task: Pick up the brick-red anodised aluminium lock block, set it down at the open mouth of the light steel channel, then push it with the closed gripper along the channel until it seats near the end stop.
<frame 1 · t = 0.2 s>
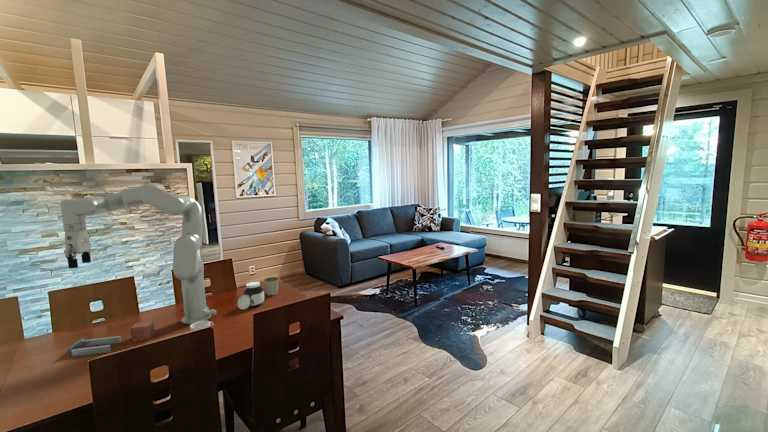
hand: (80, 265, 159), 31 cm above the table, fingers open, 9 cm apart
hitch channel: (96, 349, 145), on the table
spread jar: (251, 306, 188), on the table
lock block: (143, 337, 155), on the table
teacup: (203, 335, 155), on the table
flower pot: (272, 294, 206), on the table
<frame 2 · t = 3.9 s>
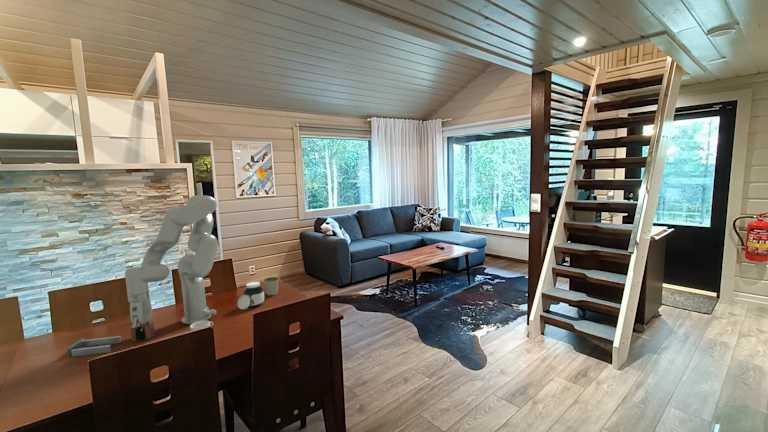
hand: (143, 336, 154), 1 cm above the table, fingers closed on lock block, 5 cm apart
lock block: (143, 337, 154), on the table, touching gripper
everything else where it was.
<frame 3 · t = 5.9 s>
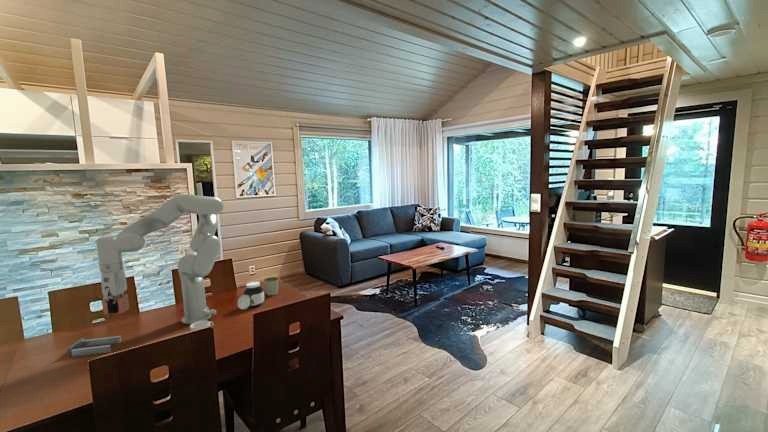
hand: (116, 310, 146), 15 cm above the table, fingers closed on lock block, 5 cm apart
lock block: (116, 311, 146), point 15 cm above the table, touching gripper
everything else where it was.
when the fingers open (2 cm above the table, at t = 8.2 s): lock block drops 2 cm, on the table.
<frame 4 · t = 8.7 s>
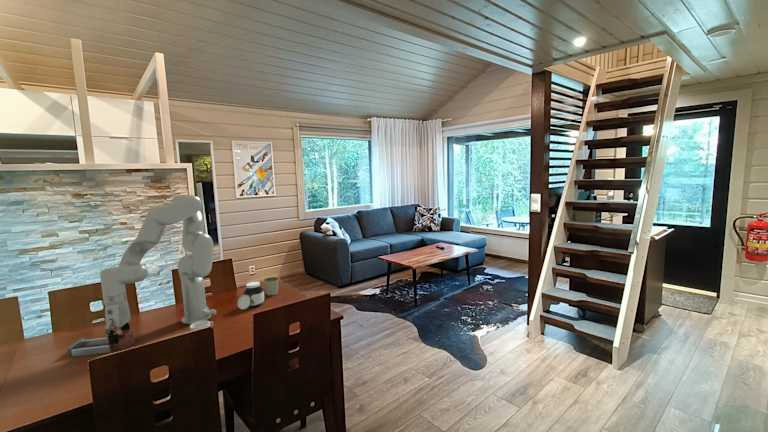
hand: (120, 338, 147), 3 cm above the table, fingers open, 9 cm apart
lock block: (121, 346, 148), on the table
everything else where it was.
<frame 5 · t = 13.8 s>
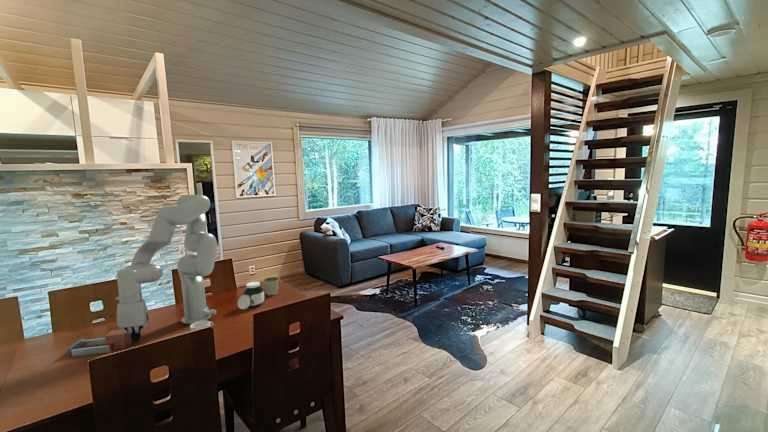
hand: (136, 341, 148), 1 cm above the table, fingers closed
lock block: (119, 346, 147), on the table, touching gripper
everything else where it was.
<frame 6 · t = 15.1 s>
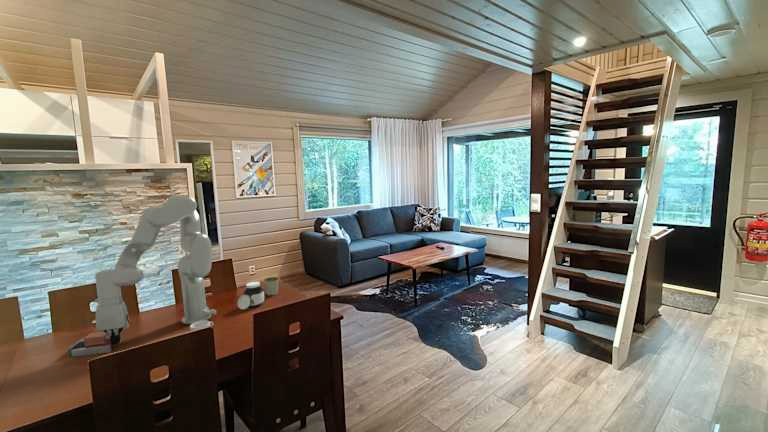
hand: (116, 343, 147), 1 cm above the table, fingers closed
lock block: (99, 348, 146), resting in hitch channel, touching gripper
everything else where it was.
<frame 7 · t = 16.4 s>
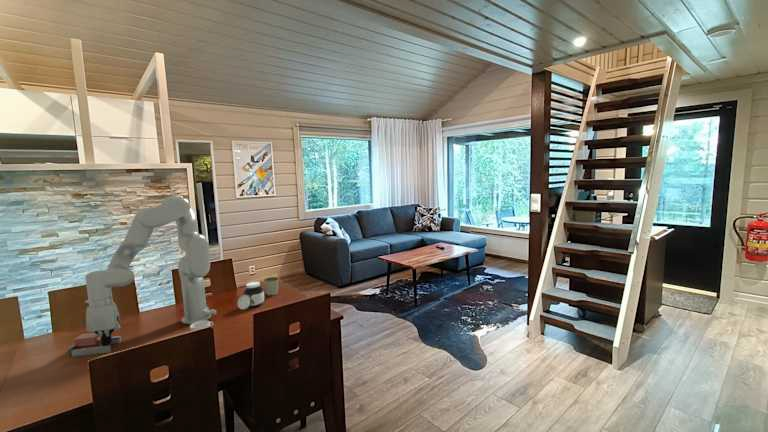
hand: (107, 344, 146), 1 cm above the table, fingers closed
lock block: (89, 349, 145), resting in hitch channel, touching gripper
everything else where it was.
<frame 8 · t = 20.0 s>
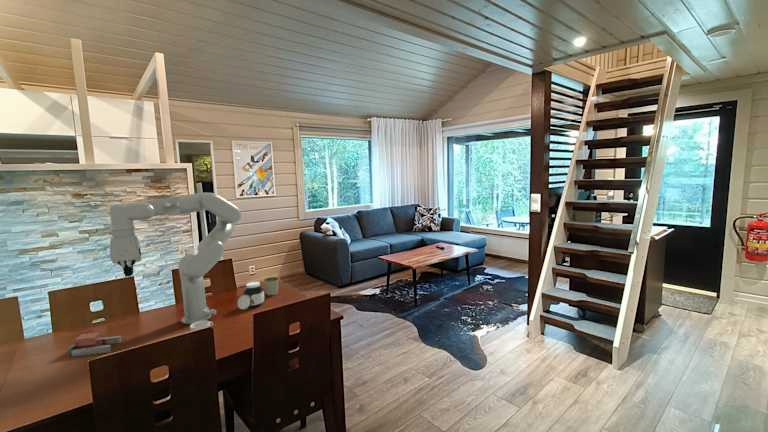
hand: (129, 275, 153), 27 cm above the table, fingers closed
lock block: (90, 349, 145), resting in hitch channel
everything else where it was.
at the end: lock block 1.8 cm off-centre on the hitch channel, point 0.0 cm above the hitch channel's base; lock block tilted 0°; the gripper is holding nothing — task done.
